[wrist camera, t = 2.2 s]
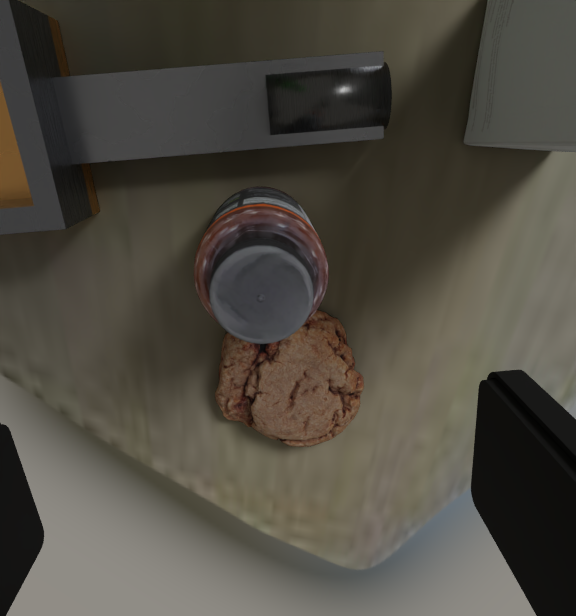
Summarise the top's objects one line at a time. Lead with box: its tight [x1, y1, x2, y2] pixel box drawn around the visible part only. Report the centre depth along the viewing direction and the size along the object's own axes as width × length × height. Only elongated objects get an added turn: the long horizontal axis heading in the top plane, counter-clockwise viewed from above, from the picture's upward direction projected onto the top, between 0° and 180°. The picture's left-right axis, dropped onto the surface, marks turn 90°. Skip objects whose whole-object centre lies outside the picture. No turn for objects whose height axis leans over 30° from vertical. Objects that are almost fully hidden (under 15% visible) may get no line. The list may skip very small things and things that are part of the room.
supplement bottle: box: [194, 187, 329, 344], centre depth 23 cm, size 6×6×11 cm
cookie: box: [215, 310, 364, 447], centre depth 31 cm, size 10×11×3 cm
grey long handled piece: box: [0, 0, 392, 235], centre depth 23 cm, size 26×10×5 cm, turn 94°
